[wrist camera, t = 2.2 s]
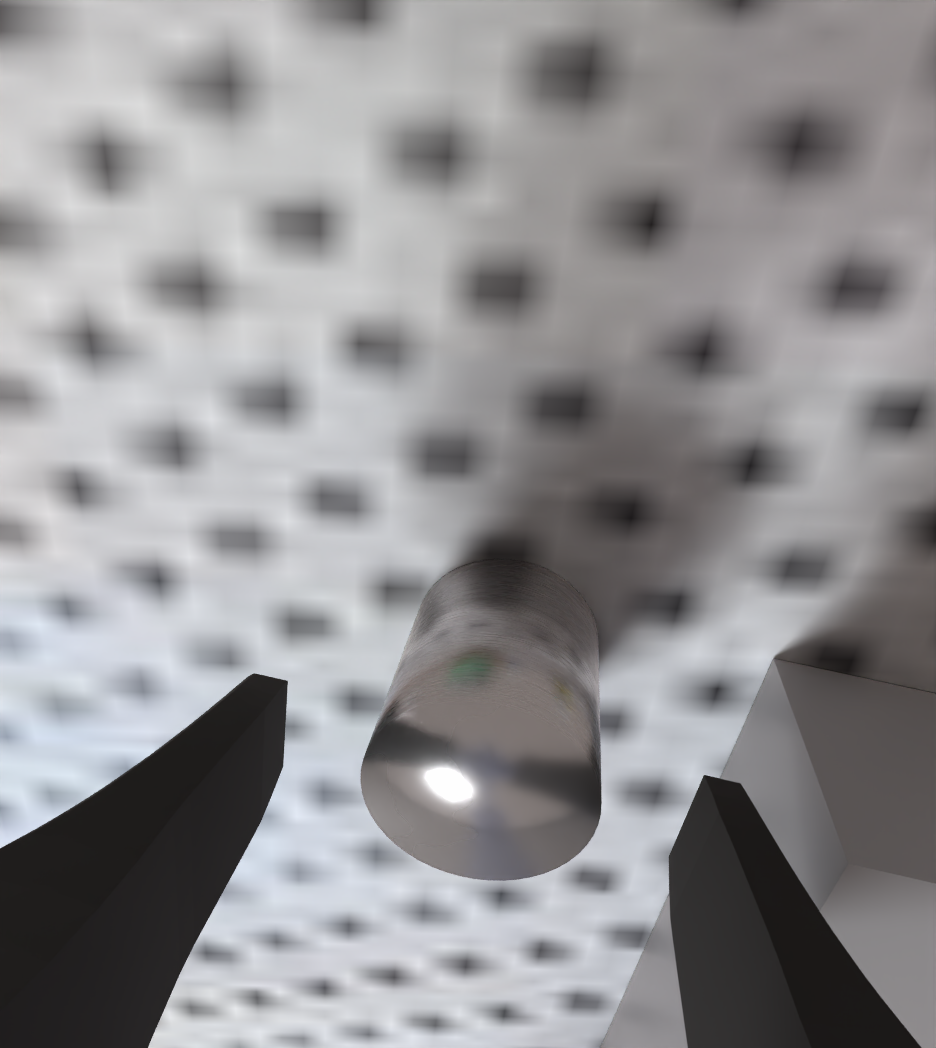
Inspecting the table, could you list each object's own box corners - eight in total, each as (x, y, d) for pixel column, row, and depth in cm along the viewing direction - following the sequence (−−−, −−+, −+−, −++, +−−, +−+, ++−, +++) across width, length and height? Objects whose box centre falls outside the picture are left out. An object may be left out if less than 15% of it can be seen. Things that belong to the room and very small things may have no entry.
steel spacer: (574, 726, 17) (570, 901, 13) (405, 688, 17) (350, 849, 13) (618, 581, 15) (629, 734, 11) (428, 540, 15) (372, 676, 11)
